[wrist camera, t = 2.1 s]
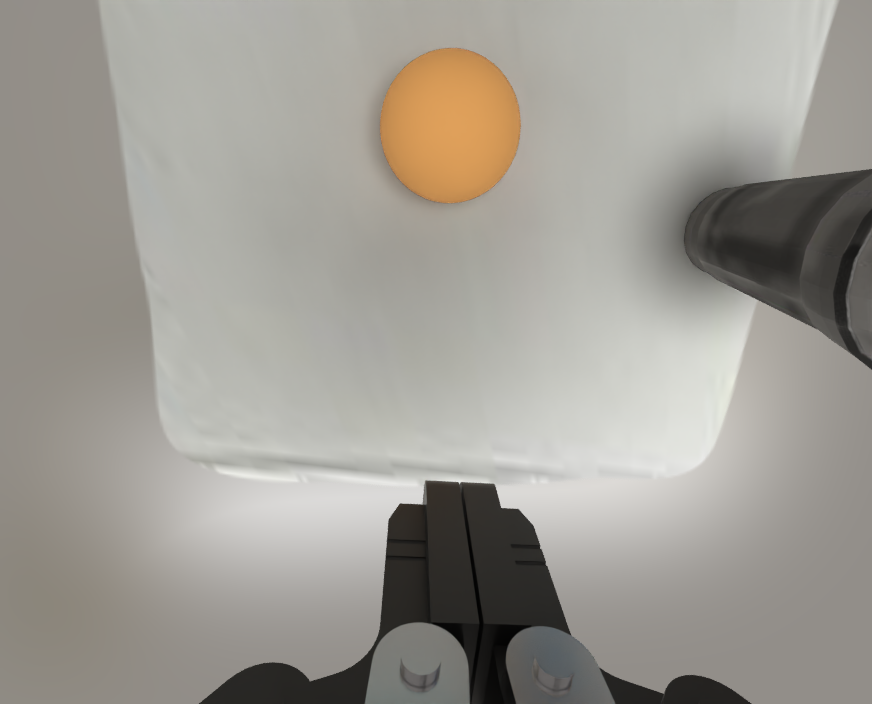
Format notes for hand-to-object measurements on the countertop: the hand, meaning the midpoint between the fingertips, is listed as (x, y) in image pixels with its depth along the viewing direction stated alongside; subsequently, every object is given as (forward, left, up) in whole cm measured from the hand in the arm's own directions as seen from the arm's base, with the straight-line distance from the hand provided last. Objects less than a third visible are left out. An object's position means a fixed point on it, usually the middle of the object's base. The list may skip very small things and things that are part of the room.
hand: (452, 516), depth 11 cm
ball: (-9, 0, -14) cm, 17 cm away
